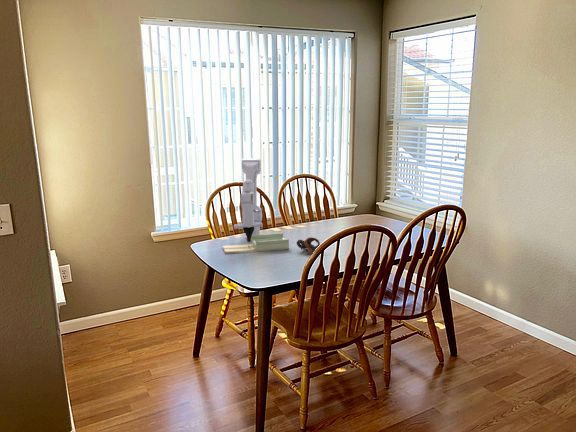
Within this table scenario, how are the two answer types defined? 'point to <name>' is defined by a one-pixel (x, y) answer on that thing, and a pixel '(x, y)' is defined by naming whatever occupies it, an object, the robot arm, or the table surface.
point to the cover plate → (239, 248)
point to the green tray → (270, 242)
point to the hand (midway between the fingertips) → (248, 241)
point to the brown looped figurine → (308, 244)
